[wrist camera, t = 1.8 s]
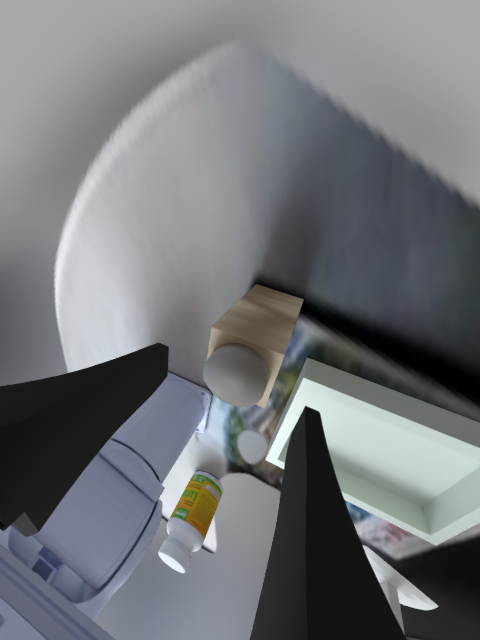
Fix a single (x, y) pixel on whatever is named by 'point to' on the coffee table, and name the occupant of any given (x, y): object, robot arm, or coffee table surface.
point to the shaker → (250, 346)
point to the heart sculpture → (397, 587)
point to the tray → (390, 451)
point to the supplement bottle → (191, 520)
